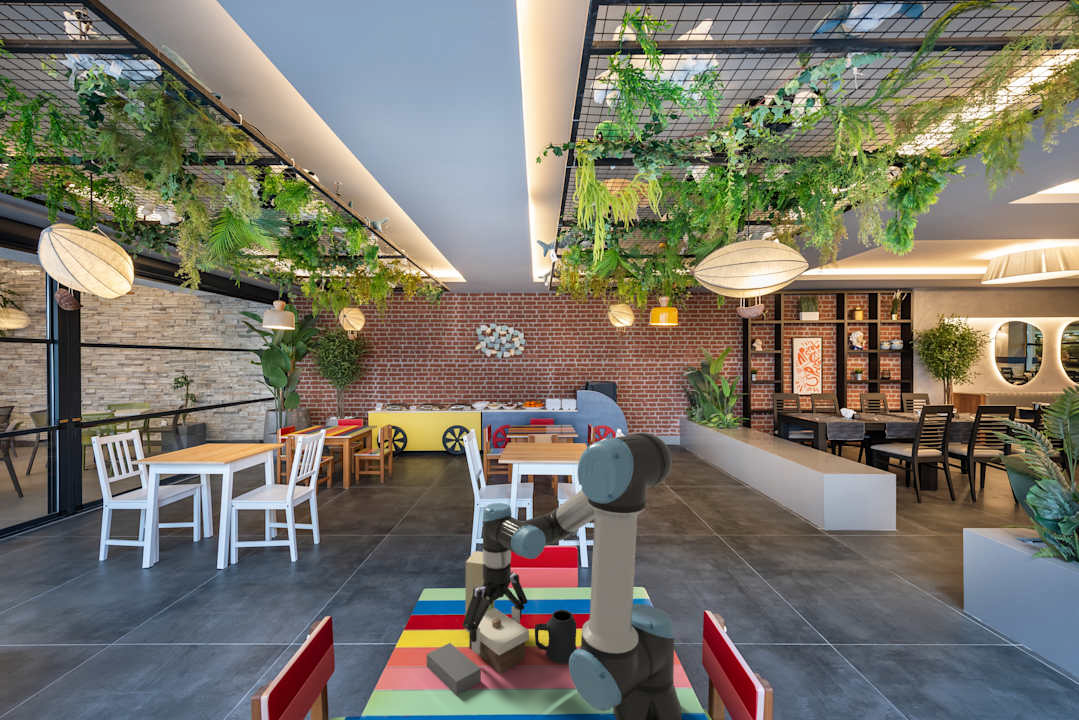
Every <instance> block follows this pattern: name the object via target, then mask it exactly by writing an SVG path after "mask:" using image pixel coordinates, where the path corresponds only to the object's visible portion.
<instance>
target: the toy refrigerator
mask: <svg viewBox="0 0 1079 720" xmlns="http://www.w3.org/2000/svg"><path fill="white" fill-rule="evenodd" d="M483 564H484V563H483V551H478V550H476V551H473V552H472V554H471V555H470V556H469V557H468V559H467V560H466V561H465V600H464V601H465V604H464V605H465V606H464V607H465V608H464V609H465V613H464V616H466V614H467V611H468V608H469V605H470V602H471V599H472V596H473V588H474V587H477V588H480V587H483V584H484V580H483ZM486 599H488V600H489V598H488V596H487V597H486ZM493 608H495V601H494V600H493V602H492V604H491V605H489V607H488V609H487V611H488V610H491V609H493Z"/></svg>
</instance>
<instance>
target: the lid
mask: <svg viewBox="0 0 1079 720" xmlns="http://www.w3.org/2000/svg"><path fill="white" fill-rule="evenodd" d="M474 624H475V622H474ZM478 628H480V641H481V642H482V643H483V644H485V645H486V646H487V647H489V648H490V649H491V650H492V651H494V652H495V653H496V654H498V655H501V654H503V653H505V652H506V651H508V650H510V649H512V648H514V647H516V646H517V645H519V644H521V643H523V642H525V643H526V641H529V640H530V630H529V629H528V628H526V627H524V626H523V625H522V624H521V623H520V624H519V623H517V622H516V621H514V620H512V617H509V616H508V615H506V614H505V613H504V612H502V611H500V610H499V609H497V608H496V607H494V608H493V609H491V610H488V611H486V613H485V615H484V617H483V619H482V620H481V622H480V624H479V626H478ZM464 629H465V631H466V632H468V634H469V633H470V631H468V630H467V629H466V628H465V627H464Z"/></svg>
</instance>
